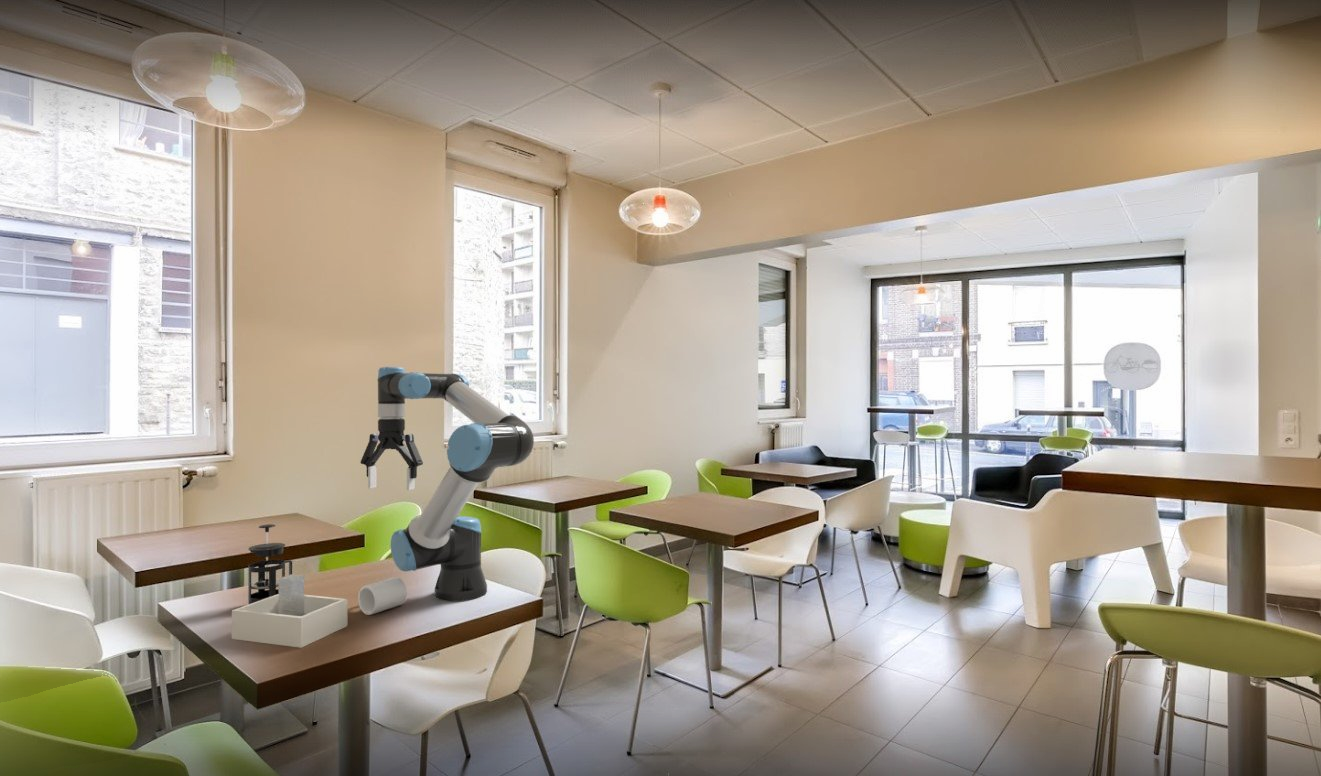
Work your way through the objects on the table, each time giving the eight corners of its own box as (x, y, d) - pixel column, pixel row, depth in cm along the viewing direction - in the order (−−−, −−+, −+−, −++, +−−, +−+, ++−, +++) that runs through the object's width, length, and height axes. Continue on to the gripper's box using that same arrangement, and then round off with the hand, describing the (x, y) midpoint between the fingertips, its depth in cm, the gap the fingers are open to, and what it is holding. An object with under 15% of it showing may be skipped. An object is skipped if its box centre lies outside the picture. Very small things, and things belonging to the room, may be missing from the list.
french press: (251, 614, 179) (251, 530, 179) (239, 606, 185) (240, 525, 185) (297, 603, 188) (297, 523, 188) (285, 597, 194) (285, 519, 194)
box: (347, 626, 169) (347, 599, 170) (300, 647, 155) (301, 618, 155) (282, 618, 175) (282, 592, 175) (231, 638, 161) (231, 610, 161)
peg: (291, 635, 163) (291, 579, 163) (278, 634, 164) (278, 578, 164) (304, 630, 167) (304, 575, 167) (291, 628, 168) (291, 574, 168)
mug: (407, 607, 185) (407, 578, 185) (376, 617, 176) (376, 588, 176) (379, 600, 191) (379, 573, 191) (348, 610, 182) (348, 581, 182)
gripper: (434, 418, 197) (434, 488, 197) (365, 417, 204) (365, 485, 204) (419, 418, 190) (419, 492, 190) (348, 418, 197) (347, 488, 196)
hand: (391, 488), depth 197 cm, fingers open, 13 cm apart
